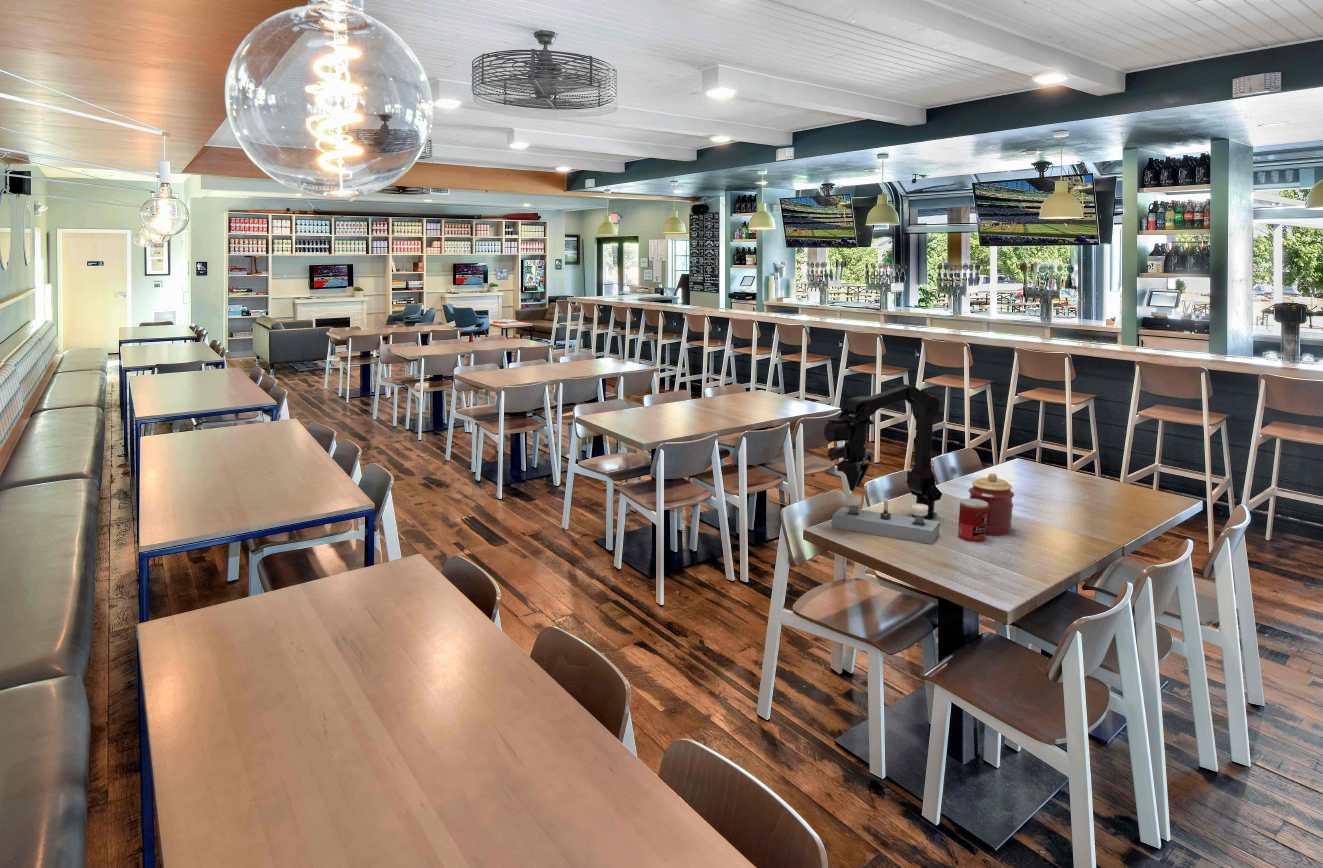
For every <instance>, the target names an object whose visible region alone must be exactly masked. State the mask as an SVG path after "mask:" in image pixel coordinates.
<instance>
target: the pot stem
mask: <svg viewBox="0 0 1323 868" xmlns="http://www.w3.org/2000/svg"><path fill="white" fill-rule="evenodd" d="M883 502H884V503H883V511H882V512H880V513H881V514H880V518H881V519H883V520H890V518H891V513H890V512H889V500H884V501H883Z"/></svg>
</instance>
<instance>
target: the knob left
mask: <svg viewBox="0 0 1323 868" xmlns="http://www.w3.org/2000/svg"><path fill="white" fill-rule="evenodd" d="M862 498H863V497H862V496H861V494H853V493H852V494H847V495H846V498H845V504H846V505H847V506H848V508H849V513H852V514H856V513H858V509H859V506H862Z"/></svg>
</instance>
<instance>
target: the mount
mask: <svg viewBox="0 0 1323 868" xmlns="http://www.w3.org/2000/svg"><path fill="white" fill-rule="evenodd" d="M881 513H882V512H877V511H871V510H864V509H859V508H858V513H856V514H852V513H849V507H845V506H842V507H841V508H839V509H838V510H836V512H834V513H833V514H832V516H831V519H832V520H831V528H833V529H838V528H839V530H844V529H845V530H846V531H850V532H856V533H863V534H869V535H876V536H880V537H881V536H882V537H888V538H893V539H898V540H904V541H905V540H906V541H911V542H917V543H921V544H922V543H923V544H928V545H932V544H933V543H934V541H936V539H937V538H938V536H939V535H940V523H941V521H938V520H933V519H926V518H924V523H923V524H917V523H915V522H914V521H915V517H913V516H912V517H911V516H905V515H897V514H891V513H890V514H891V518H890V520H883V519H881V518H880V514H881Z"/></svg>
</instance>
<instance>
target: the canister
mask: <svg viewBox="0 0 1323 868" xmlns="http://www.w3.org/2000/svg"><path fill="white" fill-rule="evenodd" d="M971 482H972V483H971V484H972V487H969V488H968V492H969V498H968V499H979V500H983V501H985V502H987V503H988V518H987V529H986V535H990V536H991V535H992V536H1002V535H1007V534H1009V533H1010V532H1011V529H1012V524H1013V523H1012V517H1013V507H1014V503H1013V498H1014V497H1015V493H1014V492H1013V491H1012V490H1011V489H1013V486H1012V485H1011V484H1010V483H1009V482H1008V481H1007V480H1005V479H1002V478H998V475H997V474H995V473H993V472H991V473H989V474H988V476H987V477H979V478H977V479H975V480H973V481H971Z"/></svg>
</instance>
